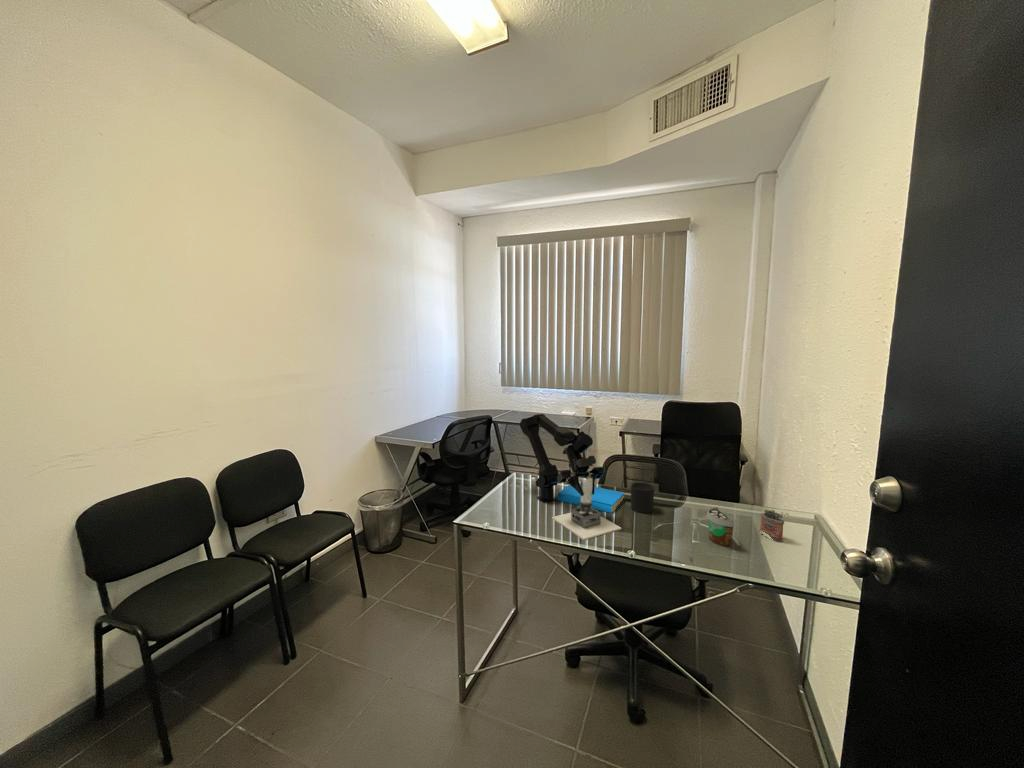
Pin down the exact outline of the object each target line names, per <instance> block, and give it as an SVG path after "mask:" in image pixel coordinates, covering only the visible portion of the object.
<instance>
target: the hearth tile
mask: <svg viewBox="0 0 1024 768" xmlns="http://www.w3.org/2000/svg"><path fill="white" fill-rule="evenodd" d="M579 513H581V514H582V513H586V512H582V511H580V512H579ZM589 513H590V514H594V513H592V512H589ZM597 518H598V517H597ZM551 519H552V520H554V521H555V522H556V523H558V524H559V525H561V526H562V527H564V528H565V530H568V531H570V532H571V533H572V534H574V535H575V536H577V537H578V538H580V539H581V540H582V541H586V540H589V539H593V538H596V537H599V536H603V535H607V534H610V533H614V532H617V531H620V530H622V527H620V526H619V525H617V524H616V523H614V522H612V521H610V520H608V519H607V518H605V517H603V516H602V515H601V524H600V525H596V526H592V527H589V528H585V529H584V528H582V527H581V526H579V525H578V524H576V523H574V522H573V521H571V512H568V513H563V514H559V515H556V516H551ZM579 520H581V521H582V522H583V519H579ZM590 521H592V520H590V519H588V520H586V522H590Z"/></svg>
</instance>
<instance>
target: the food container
mask: <svg viewBox="0 0 1024 768" xmlns="http://www.w3.org/2000/svg"><path fill="white" fill-rule="evenodd" d="M705 516H706V518H707V521H708V527H707V528H708V539H709V541H710V542H711V543H713V544H716V545H718V546H722V547H726V548H731V547H732V539H733V534H734V533H733V531H734V528H735V520H731V519H729V518H728V516H727V515H726V514H724V513H723V512H721V511H720V509H719V507H717V506H715V507H710V508H709V509H708V510H707V513H706V515H705Z"/></svg>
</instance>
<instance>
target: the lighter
mask: <svg viewBox="0 0 1024 768" xmlns="http://www.w3.org/2000/svg"><path fill="white" fill-rule="evenodd" d="M784 525H785V521H784V520H783V514H781V513H780V512H776V511H775V510H774V509H768V508H764V512H762V513H760V525H759V531H760V530H761V531H763V532H765V533H766V534H768V535H769V536H770V537H771V538H772V539H773V540H772V541H774V542H776V543H783V541H784V539H783V536H784V534H783V533H784Z"/></svg>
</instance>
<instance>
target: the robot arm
mask: <svg viewBox="0 0 1024 768" xmlns="http://www.w3.org/2000/svg"><path fill="white" fill-rule="evenodd" d="M519 427H520V429H521V431H522V433H523V434H524V435H525V436H526V438H528V441H529V443H530V446H531V448H532V451H533V453H534V456H535V459H536V461H537V464H538V466H539V467H538V478H537V479H536V480H535V482H534V483H535V486H536V487H538V488H539V495H538V496H536V498H537V499H538V500H540V501H542V503H549V502H553V501H556V500H557V498H556V497H554V486H557V485H558V484H562V483H567V485H571V486H572V487H573V488H574V489H575V490H576V491H577V492H578V493H579V494H580V495H581V496H583V491H582V488H581V486H580V484H581V482H580V480H579V479H580V478H581V476H591V477H593V483H592V494H593V495H594V487H595V481H596V480H597V479H601V478H602V477H603V475H604V474H605V473H606V470H605V468H604V467H603V466H593V465H595V464H596V463H597V460H596V458H595V455H589V456H588V457H587V458H586V457H584V456H583V455H582V454H583V453H585V452H586V451H587V450H588V449H589V448H590V447H591V446H592V445H593V443H594V440H593V438H592V437H591V436H590V435H589V434H587V433H585V431H580V432H578V434H575V433H574V432H573V430H569V429H567V428H564V427H561V426H559V425H558V424H556V423H555V422H554V421H553V420H552V419H550V418H548V416H546V414H544V413H536V414H534V415H532V416H530V417H525V418H522V419H521V420H520V422H519ZM540 427H541V428H542V429H543V430H545V431H546V432H547V433H549V435H551V436H553V441H554V442H555V443H556V444H557V446H559V447H564V449H563V451H562V455H566V456H567V459H568V462H569V463H568V467H569V468H571V470H570V469H565V470H563V469H562V470H561V471H560V472H559V471H558V468H557V466H556V464H552V463H551V462H550V460H549V456H548V455H547V452H546V450H545V447H544V444H543V441H542V439H541V437H540V434H539V433H540ZM566 446H567V447H566ZM590 467H593V468H592V469H591V470H589V469H590Z"/></svg>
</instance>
